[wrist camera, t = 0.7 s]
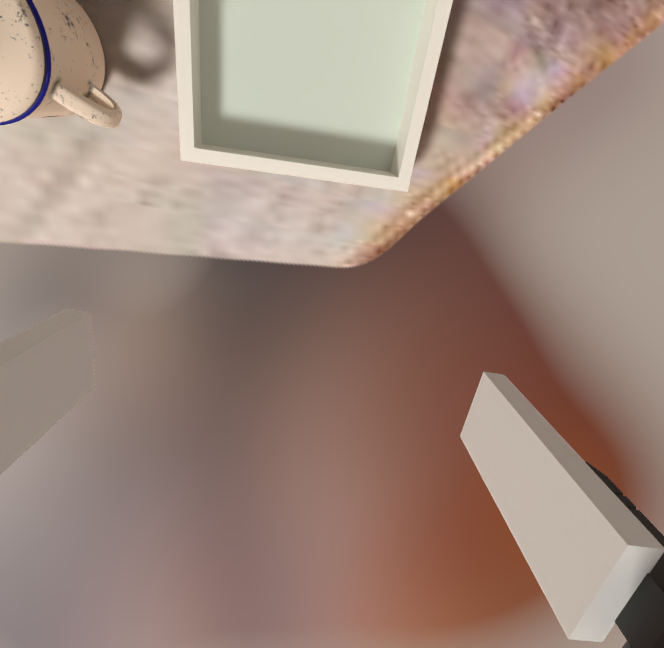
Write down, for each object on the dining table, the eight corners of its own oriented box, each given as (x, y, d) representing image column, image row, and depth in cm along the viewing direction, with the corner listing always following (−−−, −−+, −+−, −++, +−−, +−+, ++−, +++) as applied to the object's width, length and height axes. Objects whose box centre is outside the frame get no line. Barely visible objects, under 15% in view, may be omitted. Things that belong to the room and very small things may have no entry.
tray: (181, -165, 23) (162, -210, 20) (456, -91, 26) (481, -120, 22) (192, 153, 32) (180, 160, 29) (395, 182, 35) (407, 191, 31)
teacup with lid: (-46, 60, 27) (-237, 39, 17) (-9, -75, 24) (-218, -196, 14) (119, 167, 32) (42, 198, 22) (168, 65, 29) (104, 47, 19)
